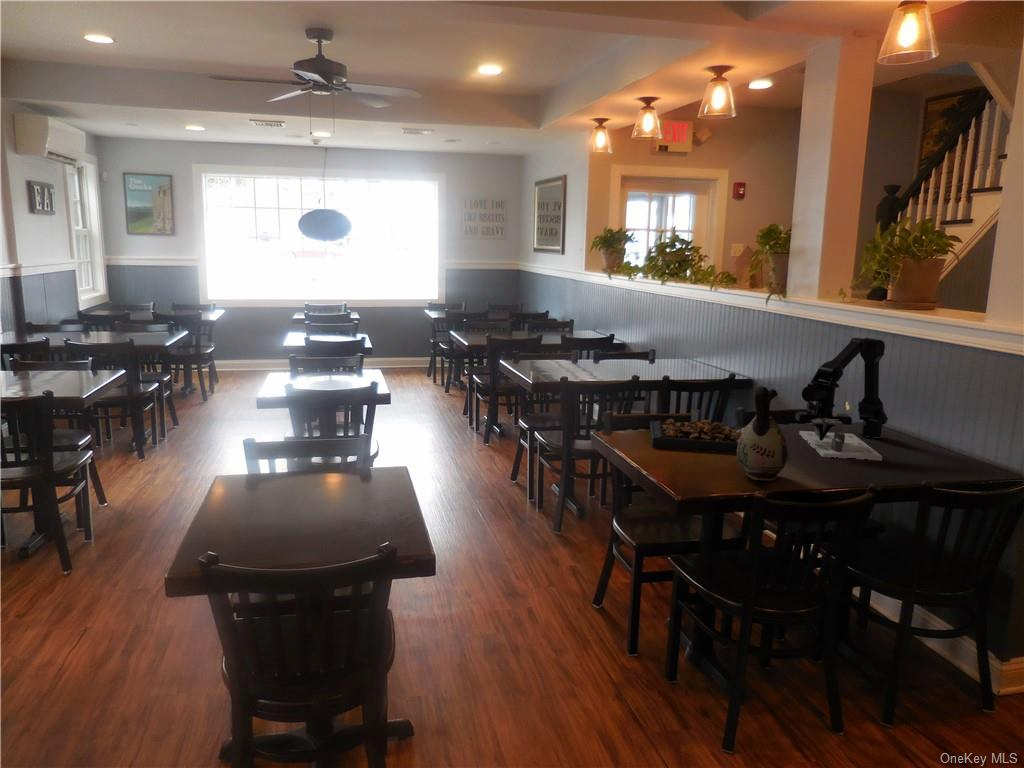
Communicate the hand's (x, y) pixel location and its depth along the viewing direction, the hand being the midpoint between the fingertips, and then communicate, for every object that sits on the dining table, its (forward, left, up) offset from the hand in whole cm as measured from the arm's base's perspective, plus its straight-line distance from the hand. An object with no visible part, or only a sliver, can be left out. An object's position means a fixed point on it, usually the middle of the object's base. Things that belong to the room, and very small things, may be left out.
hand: (820, 440), depth 267 cm
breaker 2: (-2, +10, 0) cm, 10 cm away
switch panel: (-6, 0, -2) cm, 7 cm away
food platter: (+40, +5, -3) cm, 41 cm away
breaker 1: (-3, -10, 0) cm, 10 cm away
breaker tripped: (-6, 0, 0) cm, 7 cm away
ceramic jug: (+32, +43, -2) cm, 53 cm away
